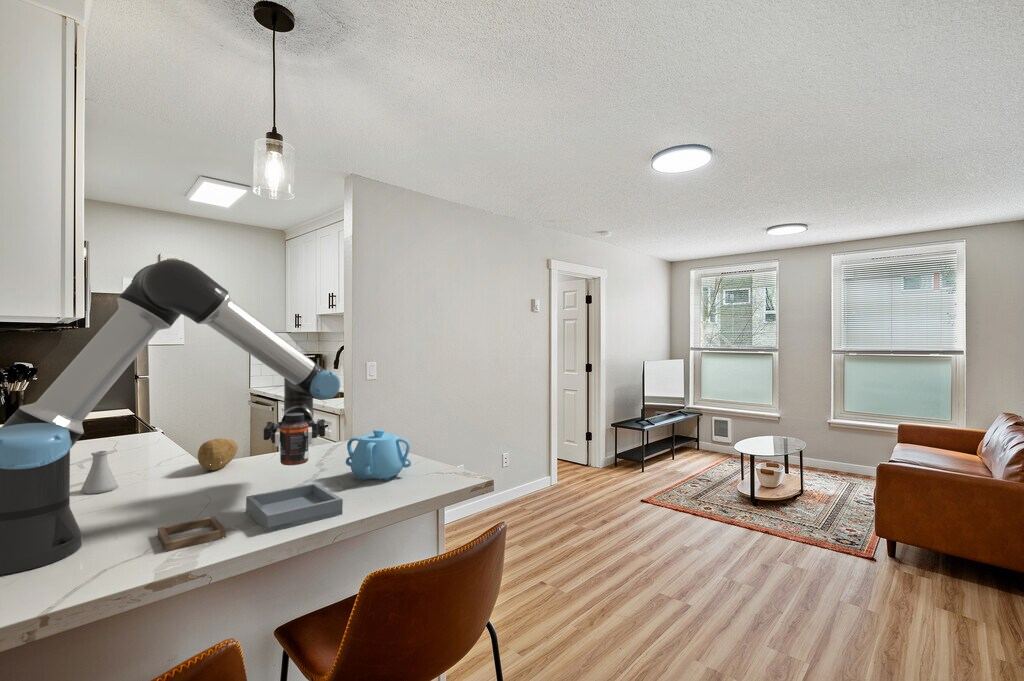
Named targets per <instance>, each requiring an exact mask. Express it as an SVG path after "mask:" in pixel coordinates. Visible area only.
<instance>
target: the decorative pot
mask: <svg viewBox="0 0 1024 681" xmlns="http://www.w3.org/2000/svg"><path fill="white" fill-rule="evenodd" d="M372 432H373V433H372ZM372 432H371V433H368V434H365V435H363V436H361V437H360V436H353V437H352V438H350V439H349V440H348V442H347V444H346V448H347V453H348V455H349V456H348V457H347V458H346V459H345V464H346V466H348V467H350V470H351V472H352V474H353V475H354V477H356V478H359V480H360V481H361V480H363V481H365V480H369V479H380V480H381V481H389V480H391V478H392V477H394V476H396V475H398V474H400V473H401V471H402V470H403V468H404V469H405V468H406V469H407V468H409V467H411V466H412V460H411V459H410V458H408V455H409V454H410V451H411V443H410V442H409V440H408V439H407V438H403V437H398V435H397V434H396V433H388V432H385V429H383V428H382V429H381V428H377V429H373V430H372ZM355 441H357V443H356V446H355V448H354V451H353V448H352V443H354V442H355ZM401 442H402V443H404V444H405V445H406V448H405V452H404V449H403V446H402V443H401ZM406 462H408V463H406Z"/></svg>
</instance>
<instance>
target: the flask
mask: <svg viewBox="0 0 1024 681" xmlns="http://www.w3.org/2000/svg"><path fill="white" fill-rule="evenodd" d="M90 454H91V456H92V463H91V466H90V469H89V472H88V474H87V476H86V479H85V481H84V483H83V485H82V486H81V489H80V490H79V493H82V494H86V495H89V494H101V493H106V492H110V491H113V490H115V489H117V488H119V485H118V482H117V480H116V479H115V477H114V475H113V472H112V471H111V468H110V466H109V461H108V454H109V451H108V450H98V451H97V450H96V451H93V452H91V453H90Z"/></svg>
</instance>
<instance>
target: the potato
mask: <svg viewBox="0 0 1024 681" xmlns="http://www.w3.org/2000/svg"><path fill="white" fill-rule="evenodd" d="M238 448H239V446H238V443H237V442H235V440H232V439H226V438H214V439H210V440H207V441H205V442H202V444H201V445H200V446H199V449H198V452H197V459H198V464H199V465H200V466H201V467H202V468H203V469H204V470H207V471H217V470H220V469H223V468H224V467H226V466H227V465H229V463H231V462H232V461H233V459H234V458H235V456H236V454H237V452H238ZM221 462H222V463H221ZM210 464H211V465H210Z"/></svg>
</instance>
